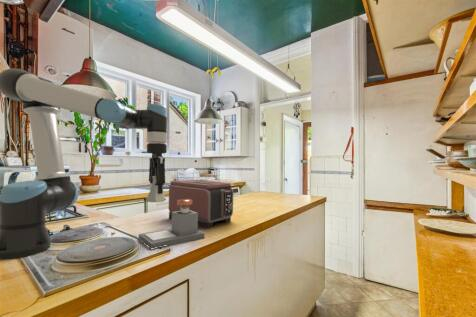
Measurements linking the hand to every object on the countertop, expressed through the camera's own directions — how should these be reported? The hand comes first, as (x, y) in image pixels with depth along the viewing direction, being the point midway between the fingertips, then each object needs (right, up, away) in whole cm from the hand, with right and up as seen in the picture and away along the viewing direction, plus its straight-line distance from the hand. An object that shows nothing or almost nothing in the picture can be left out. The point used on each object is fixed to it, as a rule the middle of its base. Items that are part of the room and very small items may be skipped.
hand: (156, 200), depth 95 cm
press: (+6, -16, +2) cm, 17 cm away
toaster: (+14, -17, +32) cm, 38 cm away
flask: (0, 0, 0) cm, 1 cm away
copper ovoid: (+10, -9, +6) cm, 15 cm away
